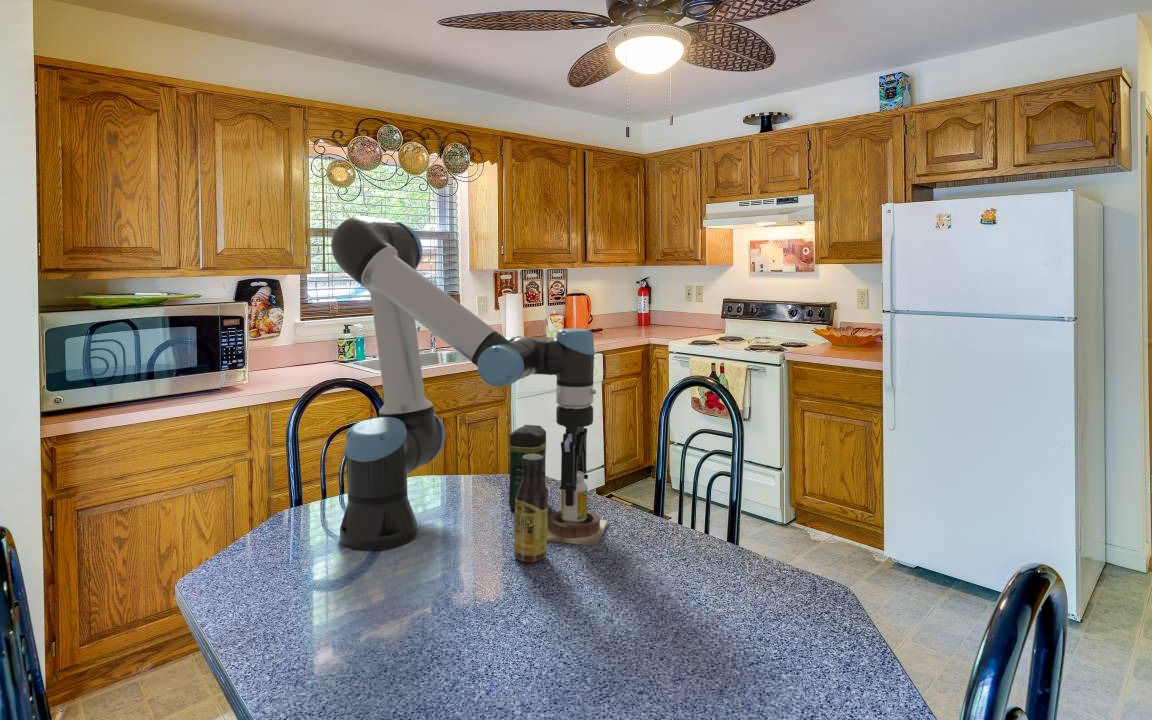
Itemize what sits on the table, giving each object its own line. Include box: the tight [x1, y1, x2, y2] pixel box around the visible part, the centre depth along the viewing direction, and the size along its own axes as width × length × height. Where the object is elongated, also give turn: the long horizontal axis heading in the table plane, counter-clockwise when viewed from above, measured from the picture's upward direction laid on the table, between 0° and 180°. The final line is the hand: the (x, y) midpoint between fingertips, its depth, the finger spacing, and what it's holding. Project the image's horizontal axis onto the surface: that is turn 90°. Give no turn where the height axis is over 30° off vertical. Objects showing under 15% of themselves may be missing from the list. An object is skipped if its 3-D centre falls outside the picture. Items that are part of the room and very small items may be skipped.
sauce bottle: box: [513, 454, 549, 564], centre depth 129 cm, size 7×6×20 cm
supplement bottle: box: [560, 471, 588, 522], centre depth 142 cm, size 5×5×10 cm
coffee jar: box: [508, 424, 547, 510], centre depth 158 cm, size 10×8×19 cm
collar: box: [547, 509, 609, 546], centre depth 143 cm, size 12×12×3 cm
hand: (573, 514), depth 143 cm, fingers closed on supplement bottle, 5 cm apart
